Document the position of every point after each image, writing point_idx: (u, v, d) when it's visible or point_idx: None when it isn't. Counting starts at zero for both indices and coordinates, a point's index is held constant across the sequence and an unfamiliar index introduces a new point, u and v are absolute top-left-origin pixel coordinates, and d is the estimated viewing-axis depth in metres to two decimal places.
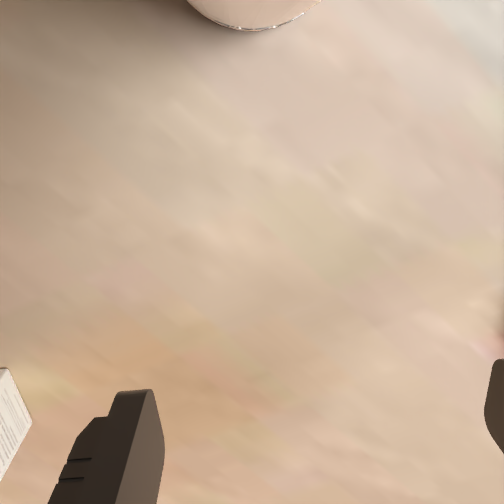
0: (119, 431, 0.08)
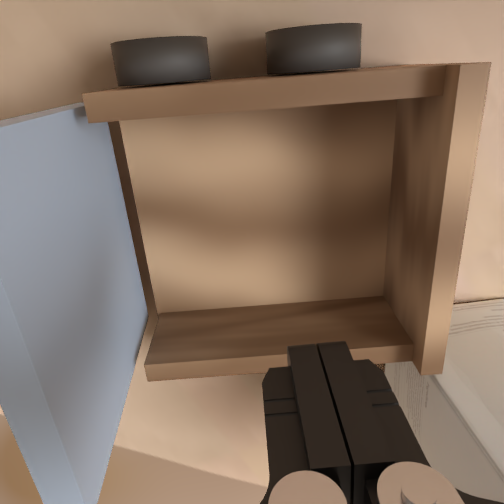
0: (309, 375, 0.09)
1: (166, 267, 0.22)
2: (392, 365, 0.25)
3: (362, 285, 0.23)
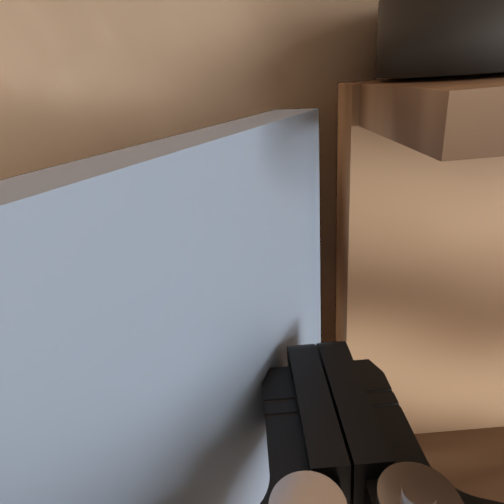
0: (309, 375, 0.09)
1: None
2: None
3: None
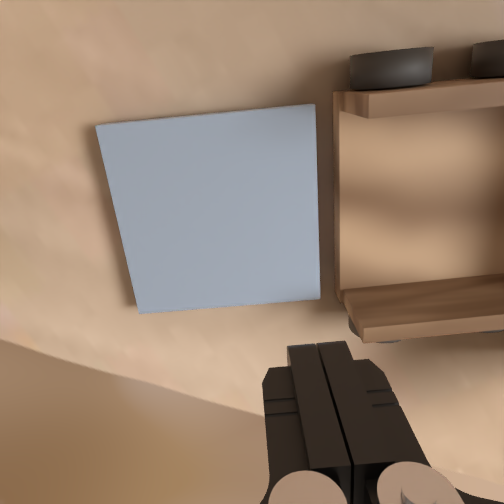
0: (309, 375, 0.09)
1: (355, 248, 0.25)
2: None
3: None
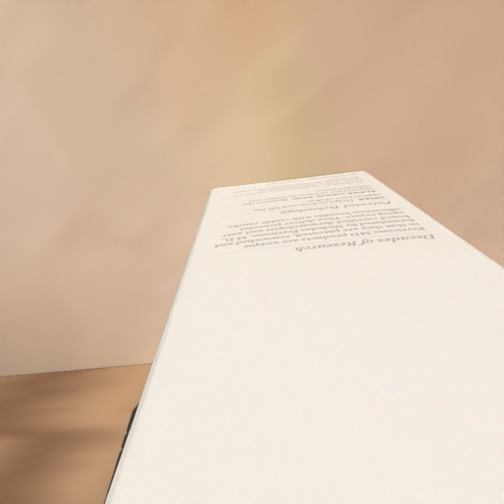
0: None
1: None
2: None
3: None
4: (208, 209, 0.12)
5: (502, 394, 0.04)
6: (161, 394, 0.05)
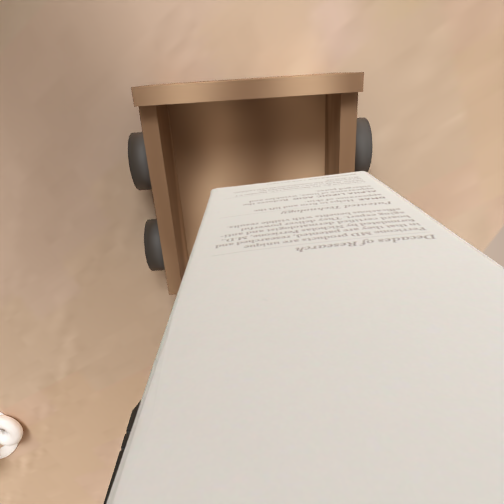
0: None
1: None
2: None
3: (314, 108, 0.28)
4: (208, 209, 0.12)
5: (503, 394, 0.04)
6: (162, 395, 0.05)
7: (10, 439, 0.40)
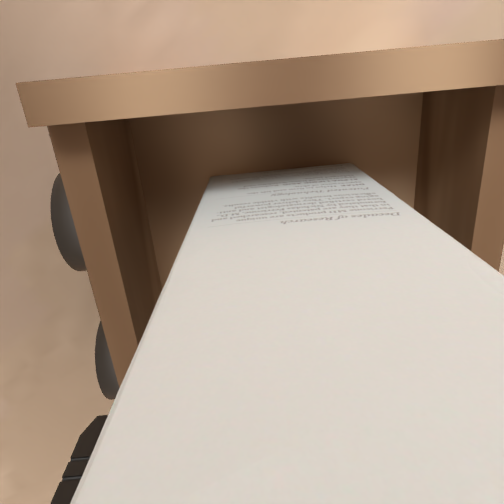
0: None
1: None
2: None
3: (400, 117, 0.15)
4: (207, 192, 0.13)
5: (422, 314, 0.05)
6: (165, 317, 0.06)
7: None
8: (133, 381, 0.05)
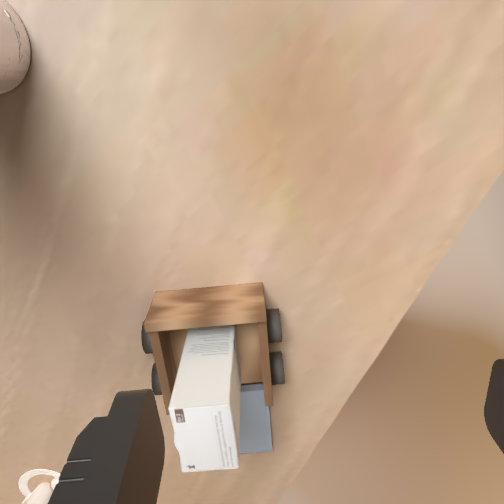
0: (119, 431, 0.08)
1: None
2: None
3: None
4: (187, 335, 0.46)
5: (213, 381, 0.39)
6: (177, 381, 0.39)
7: None
8: (174, 391, 0.38)
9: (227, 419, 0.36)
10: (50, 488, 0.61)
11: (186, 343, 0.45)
